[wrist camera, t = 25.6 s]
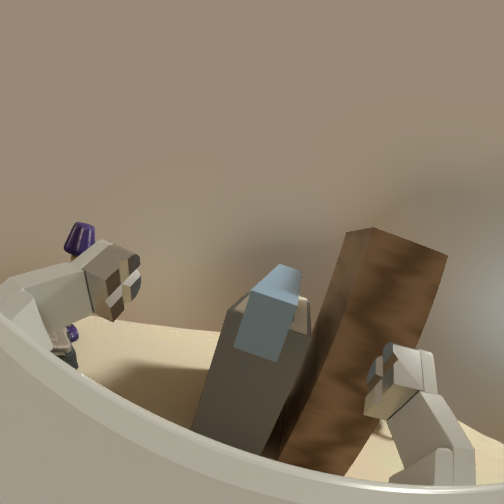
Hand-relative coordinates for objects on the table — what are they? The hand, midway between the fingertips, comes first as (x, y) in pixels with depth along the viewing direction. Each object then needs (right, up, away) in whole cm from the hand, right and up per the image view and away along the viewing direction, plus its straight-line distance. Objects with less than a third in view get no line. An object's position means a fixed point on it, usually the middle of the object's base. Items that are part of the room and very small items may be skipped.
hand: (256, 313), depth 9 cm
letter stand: (-2, -19, +28) cm, 34 cm away
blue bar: (+2, -4, +20) cm, 21 cm away
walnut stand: (+8, -22, +27) cm, 35 cm away
